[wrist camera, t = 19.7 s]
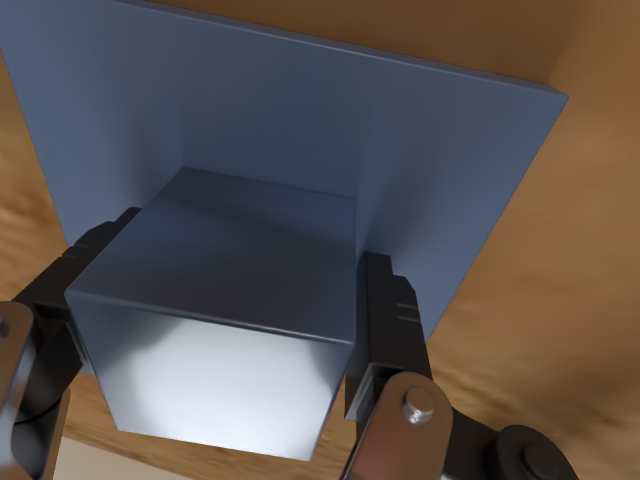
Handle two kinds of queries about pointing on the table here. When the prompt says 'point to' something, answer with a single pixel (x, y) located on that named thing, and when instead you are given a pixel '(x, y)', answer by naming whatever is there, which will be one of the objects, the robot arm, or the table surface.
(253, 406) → the slate block
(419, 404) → the robot arm
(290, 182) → the slate mat
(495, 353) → the table surface
